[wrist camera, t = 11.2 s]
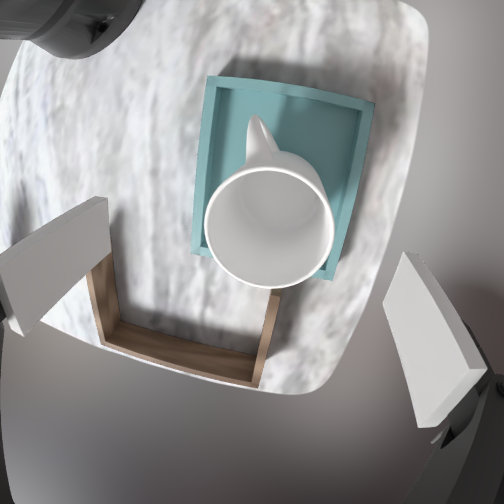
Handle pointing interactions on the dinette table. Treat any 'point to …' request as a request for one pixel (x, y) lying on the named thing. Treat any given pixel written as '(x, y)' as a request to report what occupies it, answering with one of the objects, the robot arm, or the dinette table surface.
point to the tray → (283, 144)
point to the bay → (169, 347)
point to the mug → (270, 216)
